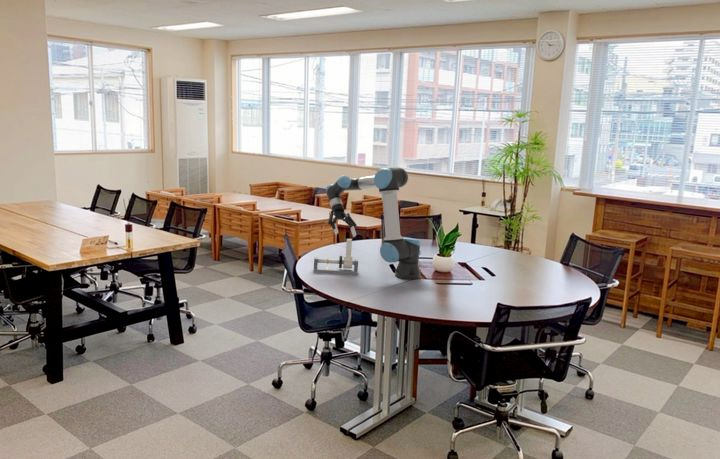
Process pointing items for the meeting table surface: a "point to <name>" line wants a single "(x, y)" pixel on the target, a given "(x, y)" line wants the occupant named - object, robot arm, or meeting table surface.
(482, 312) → the meeting table surface
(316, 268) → the pipe stand
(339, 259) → the ring
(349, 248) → the sleeve
